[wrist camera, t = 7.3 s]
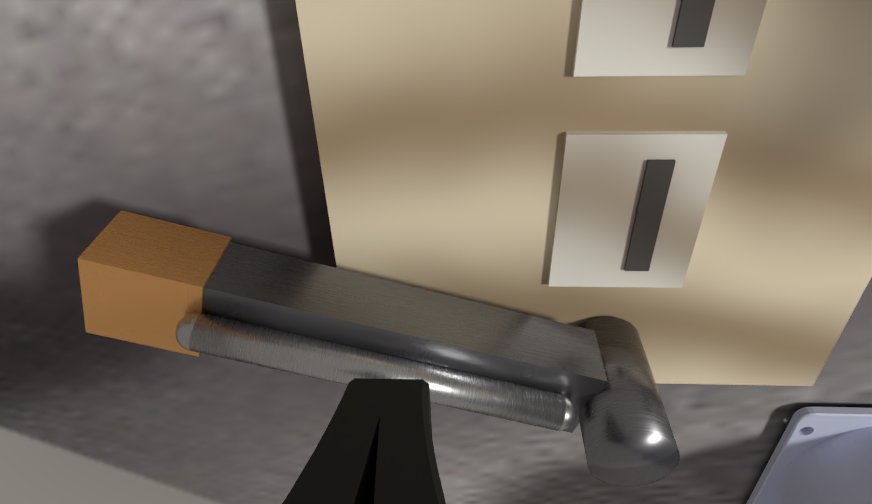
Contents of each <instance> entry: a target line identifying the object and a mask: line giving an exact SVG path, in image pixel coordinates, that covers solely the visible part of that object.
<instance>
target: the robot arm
mask: <svg viewBox="0 0 872 504" xmlns="http://www.w3.org/2000/svg"><path fill="white" fill-rule="evenodd" d="M282 504H446V503H445V498H444V494H443V490H442V486H441V481H440V477H439V473H438V468H437V464H436V458H435V453H434V447H433V441H432V426H431V406H430V387H429V384H428V383H427V382H426V381H424V380H423V379H373V378H354V379H353V380H352V381H350V382H349V383H348V386H347V388H346V390H345V393H344V395H343V397H342V399H341V401H340V403H339V405H338V407H337V410H336V412H335V414H334V415H333V417H332V419H331V421H330V423H329V425H328V427H327V429H326V431H325V433H324V434H323V436H322V438H321V440H320V442H319V444H318V445H317V447H316V449H315V451H314V452H313V454H312V456H311V457H310V459H309V461H308V463H307V464H306V466H305V468H304V469H303V471H302V473H301V474H300V476H299V478H298V479H297V481H296V483H295V484H294V486H293V488H292V489H291V491H290V493H289V494H288V496H287V497H286V499H285V500H284V502H283V503H282ZM746 504H872V408H862V407H804V408H801V409H799V410H797V411H796V412H795V413H794V415H793V416H792V418H791V420H790V422H789V424H788V426H787V428H786V430H785V431H784V433H783V435H782V437H781V439H780V441H779V443H778V445H777V447H776V448H775V450H774V452H773V454H772V456H771V458H770V460H769V462H768V463H767V465H766V467H765V469H764V471H763V473H762V475H761V477H760V479H759V480H758V482H757V484H756V486H755V488H754V490H753V492H752V494H751V496H750V497H749V499H748V501H747V503H746Z"/></svg>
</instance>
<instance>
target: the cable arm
mask: <svg viewBox="0 0 872 504" xmlns="http://www.w3.org/2000/svg"><path fill="white" fill-rule="evenodd" d="M78 267H79V275H80V284H81V293H82V302H83V311H84V320H85V329H86V332H87V333H92V334H96V335H101V336H106V337H110V338H115V339H119V340H124V341H129V342H133V343H138V344H142V345H147V346H152V347H156V348H161V349H165V350H170V351H175V352H179V353H184V354H189V355H193V356H198V357H199V356H200V354H201V353H202V354H207V355H211V356H216V357H221V358H225V359H230V360H234V361H239V362H244V363H248V364H253V365H257V366H262V367H267V368H271V369H276V370H280V371H285V372H290V373H294V374H299V375H303V376H308V377H313V378H317V379H322V380H326V381H331V382H335V383H340V384H345V385H348V383H349V382H350V381H352V380H353V379H354V378H373V379H423V380H424V381H426V382H427V383H428V384H429V387H430V403H432V404H437V405H441V406H446V407H450V408H455V409H460V410H464V411H469V412H473V413H478V414H482V415H487V416H492V417H496V418H501V419H505V420H510V421H515V422H519V423H524V424H528V425H533V426H538V427H542V428H547V429H551V430H556V431H567V432H571V433H572V432H573V431H574V429H575V428H576V426H577V425H578V424H579V422H580V427H581V432H582V437H583V443H584V448H585V453H586V459H587V464H588V468H589V470H590V472H591V473H592V475H593V476H595V477H596V478H597V479H599V480H601V481H603V482H605V483H608V484H612V485H617V486H638V485H644V484H648V483H651V482H654V481H657V480H659V479H661V478H663V477H665V476H666V475H668V474H669V473H670V472H672V471H673V470H674V468H675V467H676V466H677V464H678V462H679V457H680V455H679V451H678V448H677V445H676V442H675V439H674V436H673V433H672V430H671V427H670V424H669V421H668V418H667V415H666V412H665V409H664V406H663V403H662V401H661V398H660V395H659V392H658V389H657V386H656V383H655V380H654V377H653V374H652V371H651V368H650V365H649V362H648V359H647V356H646V353H645V350H644V347H643V345H642V342H641V339H640V336H639V333H638V331H637V329H636V328H635V327H634V326H633V325H632V324H631V323H629V322H628V321H626V320H623V319H620V318H616V317H598V318H593V319H590V320H587V321H585V322H583V323H581V324H579V325H578V326H573V325H569V324H565V323H561V322H557V321H553V320H549V319H544V318H540V317H536V316H532V315H528V314H524V313H520V312H516V311H512V310H507V309H503V308H499V307H495V306H491V305H487V304H483V303H479V302H475V301H470V300H466V299H462V298H458V297H454V296H450V295H446V294H442V293H438V292H433V291H429V290H425V289H421V288H417V287H413V286H409V285H405V284H401V283H396V282H392V281H388V280H384V279H380V278H376V277H372V276H368V275H364V274H359V273H355V272H351V271H347V270H343V269H339V268H335V267H331V266H327V265H322V264H318V263H314V262H310V261H306V260H302V259H298V258H294V257H290V256H285V255H281V254H277V253H273V252H269V251H265V250H261V249H257V248H253V247H248V246H244V245H240V244H236V243H232V242H231V237H229V236H225V235H220V234H216V233H212V232H208V231H204V230H200V229H196V228H192V227H188V226H184V225H180V224H175V223H171V222H167V221H163V220H159V219H155V218H151V217H147V216H143V215H139V214H135V213H130V212H126V211H122V210H121V211H120V212H119V213H118V214H117V215H116V216H115V217H114V218H113V220H112V221H111V222H110V223H109V224H108V225H107V226H106V227H105V228H104V230H103V231H102V232H101V233H100V234H99V235H98V236H97V237H96V238H95V240H94V241H93V242H92V243H91V244H90V245H89V246H88V247H87V248H86V250H85V251H84V252H83V253H82V254H81V255H80V256H79V257H78Z"/></svg>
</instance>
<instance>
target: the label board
mask: <svg viewBox="0 0 872 504" xmlns="http://www.w3.org/2000/svg"><path fill="white" fill-rule="evenodd" d="M295 2H296V8H297V15H298V21H299V28H300V34H301V41H302V47H303V54H304V60H305V66H306V73H307V79H308V86H309V92H310V99H311V105H312V112H313V118H314V124H315V131H316V137H317V144H318V150H319V157H320V163H321V170H322V176H323V182H324V189H325V195H326V202H327V208H328V215H329V221H330V227H331V234H332V240H333V247H334V253H335V260H336V266H337V268H339V269H343V270H347V271H351V272H355V273H359V274H364V275H368V276H372V277H376V278H380V279H384V280H388V281H392V282H396V283H401V284H405V285H409V286H413V287H417V288H421V289H425V290H429V291H433V292H438V293H442V294H446V295H450V296H454V297H458V298H462V299H466V300H470V301H475V302H479V303H483V304H487V305H491V306H495V307H499V308H503V309H507V310H512V311H516V312H520V313H524V314H528V315H532V316H536V317H540V318H544V319H549V320H553V321H557V322H561V323H565V324H569V325H573V326H578V325H579V324H581V323H583V322H585V321H587V320H590V319H593V318H598V317H616V318H620V319H623V320H626V321H628V322H629V323H631V324H632V325H633V326H634V327H635V328H636V329H637V331H638V333H639V336H640V339H641V342H642V345H643V347H644V350H645V353H646V356H647V359H648V362H649V365H650V368H651V371H652V374H653V377H654V380H655V383H671V384H727V385H784V386H813V385H814V383H815V381H816V379H817V377H818V375H819V374H820V372H821V370H822V368H823V366H824V364H825V362H826V360H827V359H828V357H829V355H830V353H831V351H832V349H833V347H834V346H835V344H836V342H837V340H838V338H839V336H840V334H841V333H842V331H843V329H844V327H845V325H846V323H847V321H848V320H849V318H850V316H851V314H852V312H853V310H854V308H855V306H856V305H857V303H858V301H859V299H860V297H861V295H862V293H863V292H864V290H865V288H866V286H867V284H868V282H869V280H870V279H871V277H872V0H295Z"/></svg>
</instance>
